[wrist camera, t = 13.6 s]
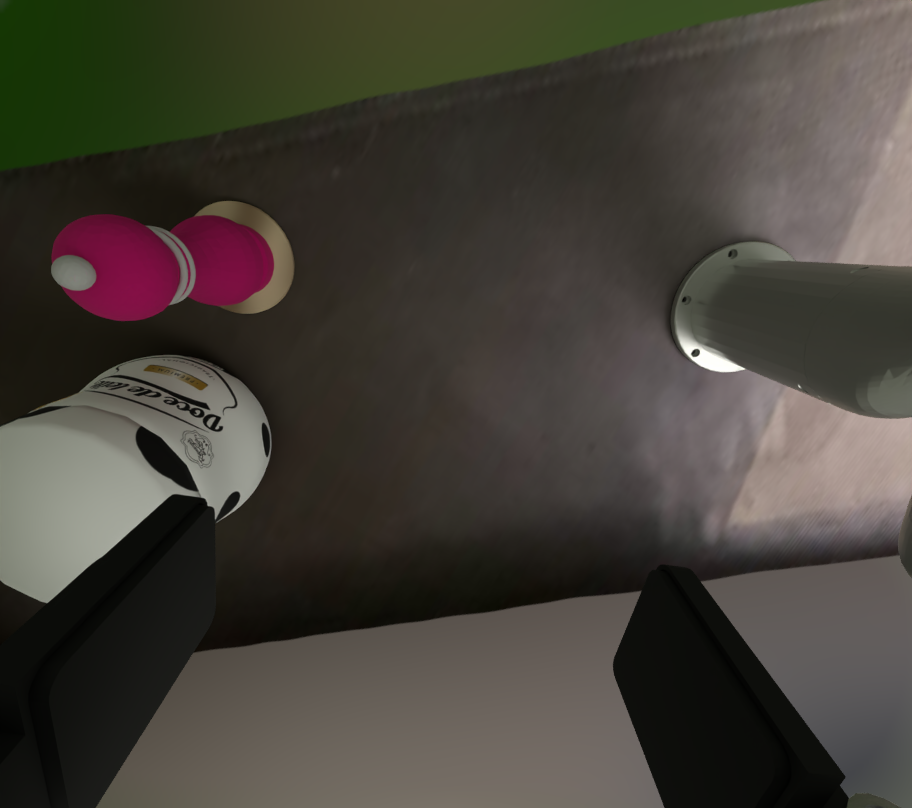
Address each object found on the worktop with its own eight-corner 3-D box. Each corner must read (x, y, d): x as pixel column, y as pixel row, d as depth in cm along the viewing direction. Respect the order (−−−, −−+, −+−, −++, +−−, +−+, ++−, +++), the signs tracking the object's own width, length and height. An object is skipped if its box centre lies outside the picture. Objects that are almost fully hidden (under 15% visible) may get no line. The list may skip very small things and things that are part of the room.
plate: (297, 213, 40) (295, 212, 39) (291, 321, 43) (289, 322, 43) (185, 191, 39) (180, 190, 39) (188, 302, 43) (184, 303, 42)
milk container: (242, 327, 44) (110, 379, 27) (306, 475, 49) (231, 595, 32) (85, 370, 45) (-136, 446, 28) (165, 509, 51) (22, 642, 34)
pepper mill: (185, 235, 40) (-51, 229, 21) (255, 204, 39) (73, 169, 20) (227, 310, 42) (48, 364, 23) (294, 282, 41) (163, 315, 23)
